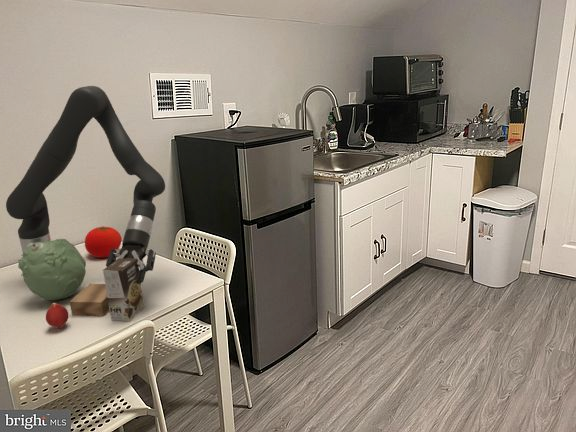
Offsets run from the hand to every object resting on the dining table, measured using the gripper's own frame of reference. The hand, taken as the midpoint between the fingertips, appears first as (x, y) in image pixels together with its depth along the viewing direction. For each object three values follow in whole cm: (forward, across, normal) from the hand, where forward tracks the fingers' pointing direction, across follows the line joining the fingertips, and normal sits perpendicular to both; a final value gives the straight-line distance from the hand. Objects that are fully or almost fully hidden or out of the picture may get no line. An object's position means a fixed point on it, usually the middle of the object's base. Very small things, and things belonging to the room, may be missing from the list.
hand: (125, 282), depth 137 cm
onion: (+14, -16, 0) cm, 22 cm away
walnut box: (+5, -12, +9) cm, 16 cm away
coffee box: (+8, 0, +7) cm, 10 cm away
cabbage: (+2, -28, +12) cm, 31 cm away
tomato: (-23, -33, +36) cm, 54 cm away
